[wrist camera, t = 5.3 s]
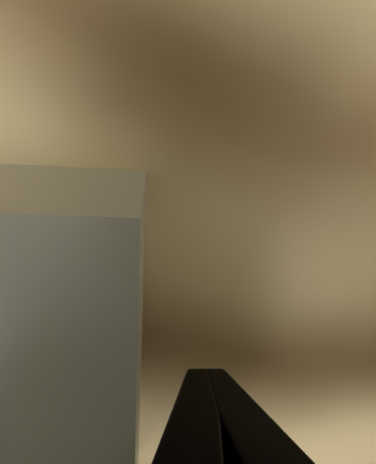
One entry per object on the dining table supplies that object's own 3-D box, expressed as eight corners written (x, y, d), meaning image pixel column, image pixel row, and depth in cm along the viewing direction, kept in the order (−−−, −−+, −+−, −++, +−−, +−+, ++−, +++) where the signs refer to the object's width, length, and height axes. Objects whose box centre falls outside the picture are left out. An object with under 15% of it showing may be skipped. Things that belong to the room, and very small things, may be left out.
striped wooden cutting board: (395, 516, 14) (413, 545, 13) (-381, 568, 11) (-431, 611, 10) (565, -23, 9) (618, -40, 8) (-851, -179, 6) (-1053, -239, 5)
